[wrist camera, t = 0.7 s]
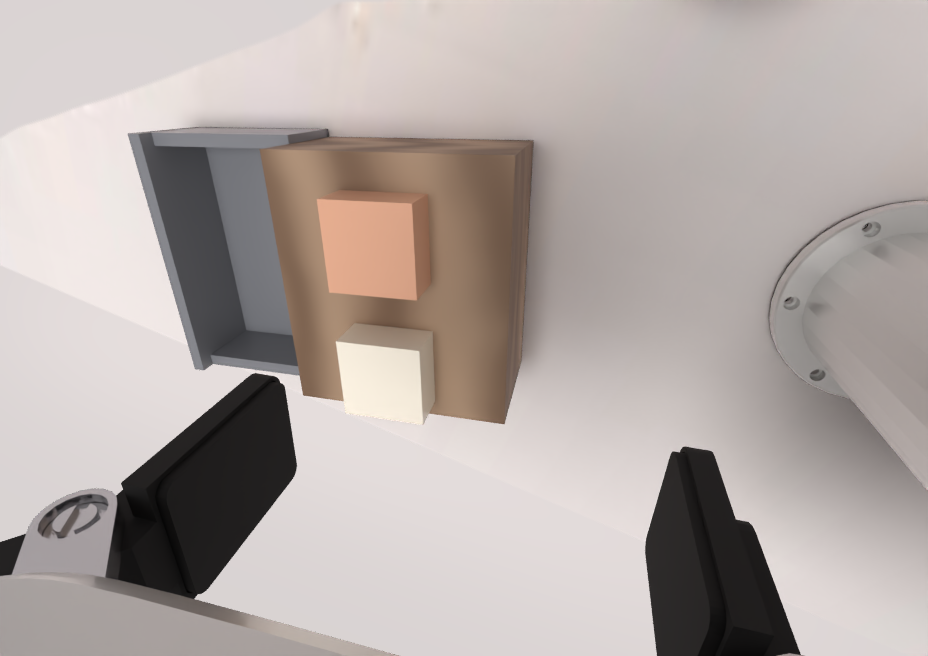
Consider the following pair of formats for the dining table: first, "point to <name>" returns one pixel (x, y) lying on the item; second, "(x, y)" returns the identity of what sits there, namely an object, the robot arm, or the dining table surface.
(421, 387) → the cream tile
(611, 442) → the dining table surface
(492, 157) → the wooden box
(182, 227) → the box
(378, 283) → the terracotta tile
